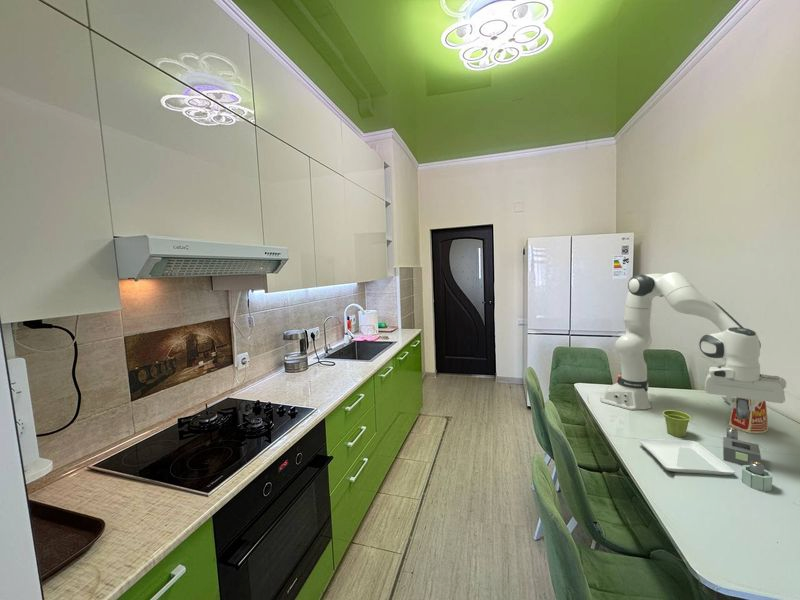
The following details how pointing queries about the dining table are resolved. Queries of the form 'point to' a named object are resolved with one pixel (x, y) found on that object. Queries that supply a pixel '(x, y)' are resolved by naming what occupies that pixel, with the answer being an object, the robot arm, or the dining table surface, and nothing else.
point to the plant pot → (676, 422)
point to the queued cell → (732, 433)
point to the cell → (742, 408)
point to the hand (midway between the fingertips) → (742, 409)
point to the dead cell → (757, 468)
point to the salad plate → (669, 455)
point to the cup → (757, 479)
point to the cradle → (740, 451)
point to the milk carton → (751, 419)
